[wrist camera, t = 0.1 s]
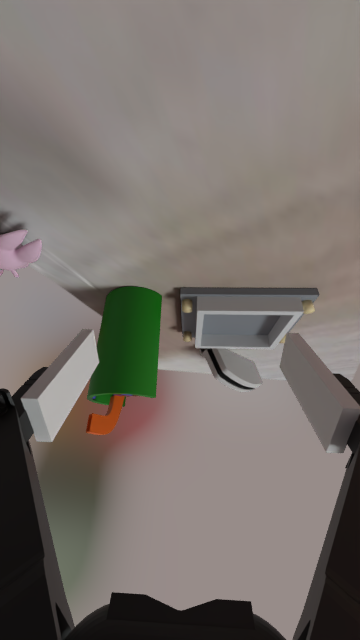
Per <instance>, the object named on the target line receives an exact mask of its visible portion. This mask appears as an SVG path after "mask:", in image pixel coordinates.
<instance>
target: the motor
mask: <svg viewBox="0 0 360 640" xmlns="http://www.w3.org/2000/svg"><path fill="white" fill-rule="evenodd" d="M161 302H162V296H161V295H160V294H158V293H157V292H155V291H152V290H150V289H147V288H142V287H133V286H130V287H121V288H117V289H115V290H113V291H111V292H110V293H109V294H108V295H107V297H106V302H105V307H104V312H103V317H102V323H101V328H100V333H99V338H98V343H97V353H98V359H99V364H98V365H97V367H96V369H95V370H94V372H93V374H92V375H91V380H90V385H89V390H88V395H87V399H88V400H89V401H92V402H95V403H99V404H104V405H109V408H108V411H107V414H106V415H105V416H102V415H97V414H93V413H92V414H90V415H89V418H88V424H87V429H86V433H90V434H95V435H104V434H108V433H110V432H111V431H112V430H113V428H114V427H115V425H116V423H117V421H118V418H119V415H120V412H121V408H122V406H123V407H124V406H125V399H126V396H127V397H128V396H145V397H150V398H155V397H156V385H157V383H156V382H157V368H158V352H159V335H160V319H161Z"/></svg>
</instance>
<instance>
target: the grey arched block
mask: <svg viewBox="0 0 360 640" xmlns="http://www.w3.org/2000/svg"><path fill="white" fill-rule="evenodd" d="M210 349H211V350H209V349H208V350H207V349H206V350H205V351H204V350H201V349H199V352H200V355H201V356H203V357H205V358H206V360H207V362H208V364H209V367H210V369H211V371H212V374H213V376H214V377H215V379H216V380H218V381H219V382H221V383H222V384H224V385H226V386H227V387H229V388H231V389H233V390H236V391H240V392H248V391H251V390H254V389H255V388H256V387H259V386H260V385H261V384H262V383H263V382H262V379H261V377H260V374H259V372H258V370H257V367H256V365H255V363H254V362H253V361H251V360H249V359H247V358H245V357H243V356H240V355H238V354H236V353H234V352H232V351H230V350H227V349H221V348H210Z"/></svg>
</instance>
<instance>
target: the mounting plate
mask: <svg viewBox="0 0 360 640" xmlns="http://www.w3.org/2000/svg"><path fill="white" fill-rule="evenodd" d="M180 296H181V315H182V334H183V341H185V342H190V341H192V337H195V348H221V349H274V348H275V347H276V346H277V344H278V343H285V339H286V334H287V333H289V331H290V330H291V329H292V328H293V327H294V325H295V324H296V323H297V322H298V321H299V319H300V318H301V317H302V316H303V314H310V313H312V312H314V311H315V309H314V306H313V302H314V301H315V300H316V299H317V297H318V296H319V292H318V289H317V288H181V291H180Z"/></svg>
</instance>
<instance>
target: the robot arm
mask: <svg viewBox="0 0 360 640" xmlns="http://www.w3.org/2000/svg"><path fill="white" fill-rule="evenodd" d="M98 364H99V359H98V353H97V347H96V342H95V337H94V331H93V330H92V329H91V330H90V329H82V330H81V332H80V333H79V334H78V335H77V336H76V337H75V338H74V339H73V341H71V343H70V344H69V345H68V346H67V347H66V348H65V349H64V350H63V352H62V353H61V354H60V355H59V356H58V357H57V358H56V359H55V361H54V362H53V363H52V364H51V365H50V366H49V367H43V368H41V369H39V370H38V371H36V372H35V373H34V374H33V375H32V376H31V377H30V378H29V380H27V381H26V382H25V383H24V385H22V386H21V387H20V388H19V389H18V390H17V392H16V393H15V394H14V395H13V396H12V397H11V395H10V392H9V391H8V390H7V389H0V640H286V639H285V638H284V637H283V636H282V635H281V634H280V633H279V632H278V631H277V630H276V629H275V628H274V627H273V626H271V625H270V624H269V623H268V622H267V621H265V620H263V619H262V618H260V617H259V616H257V615H255V614H253V612H252V605H251V602H250V601H235V600H220V599H216V600H213V601H210V602H207V603H204V604H201V605H198V606H195V607H192V608H189V609H186V610H182V611H179V610H176V609H174V608H172V607H170V606H168V605H166V604H164V603H162V602H160V601H157V600H155V599H153V598H151V597H149V596H147V595H143V594H128V593H113V592H112V594H111V599H110V604H108V605H105V606H103V607H101V608H99V609H97V610H95V611H94V612H92V613H91V614H89V615H88V616H87V617H85V618H84V619H83V620H82V621H81V622H80V623H79V624H78V625H77V626H76V627H74V623H73V619H72V616H71V612H70V609H69V606H68V603H67V599H66V596H65V592H64V588H63V583H62V580H61V575H60V571H59V567H58V562H57V558H56V553H55V549H54V545H53V540H52V536H51V532H50V527H49V523H48V519H47V515H46V510H45V506H44V502H43V498H42V493H41V489H40V484H39V480H38V476H37V472H36V467H35V463H34V459H33V454H32V450H31V446H30V443H29V439H30V437H31V436H32V434H33V433H34V435H35V438H36V441H41V442H42V441H43V442H52V441H53V439H54V438H55V436H56V434H57V433H58V431H59V429H60V427H61V426H62V424H63V422H64V421H65V419H66V417H67V416H68V414H69V412H70V411H71V409H72V407H73V406H74V404H75V402H76V401H77V399H78V397H79V396H80V394H81V392H82V390H83V389H84V387H85V385H86V384H87V382H88V380H89V379H90V377H91V375H92V374H93V372H94V370H95V369H96V367H97V365H98ZM280 368H281V370H282V372H283V374H284V376H285V378H286V379H287V381H288V383H289V385H290V387H291V388H292V390H293V392H294V394H295V396H296V398H297V399H298V401H299V403H300V405H301V407H302V409H303V411H304V412H305V414H306V416H307V418H308V420H309V421H310V423H311V425H312V427H313V429H314V431H315V432H316V434H317V436H318V438H319V440H320V442H321V443H322V445H323V447H324V449H325V451H326V452H327V453H343V452H344V450H345V448H346V445H347V444H348V446H349V447H350V449H351V451H352V454H351V457H350V459H349V461H348V463H347V465H346V468H347V469H346V472H345V476H344V479H343V482H342V486H341V489H340V492H339V496H338V498H337V502H336V505H335V508H334V511H333V515H332V518H331V521H330V525H329V528H328V531H327V534H326V538H325V541H324V544H323V547H322V551H321V554H320V557H319V560H318V564H317V567H316V570H315V574H314V577H313V580H312V583H311V587H310V590H309V593H308V596H307V600H306V603H305V606H304V610H303V612H302V615H301V618H300V621H299V623H298V626H297V628H296V631H295V634H294V637H293V640H360V392H359V391H358V390H357V389H356V388H355V386H354V385H353V384H352V383H351V382H350V381H349V380H348V379H347V378H345V377H344V376H342V375H341V374H332V372H331V371H330V370H329V369H328V368H327V366H326V365H325V364H324V363H323V362H322V361H321V359H320V358H319V357H318V356H317V355H316V353H315V352H314V351H313V350H312V349H311V347H310V346H309V345H308V344H307V343H306V341H305V340H304V339H303V338H302V337H301V336H300V334H299V333H287V334H286V339H285V343H284V348H283V353H282V358H281V363H280Z"/></svg>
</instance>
